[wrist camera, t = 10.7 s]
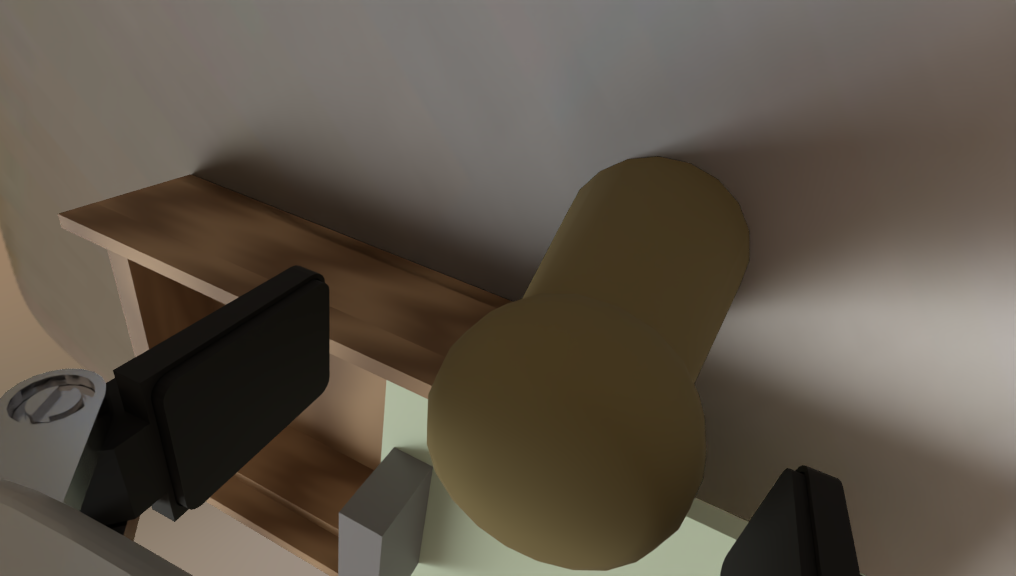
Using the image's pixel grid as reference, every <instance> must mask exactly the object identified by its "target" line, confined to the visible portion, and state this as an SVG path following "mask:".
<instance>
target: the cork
mask: <svg viewBox="0 0 1016 576" xmlns="http://www.w3.org/2000/svg"><path fill="white" fill-rule="evenodd" d="M748 263H749V229H748V226H747V224H746V221H745V219H744V216H743V214H742V211H741V208H740V206H739V203H738V202H737V201H736V200H735V199H734V197H733V196H732V195H731V194H730V193H729V192H728V191H727V189H726V188H725V187H724V186H723V185H722V184H721V183H720V181H719V180H718V179H716V178H714V177H713V176H711V175H709V174H708V173H706V172H704V171H702V170H701V169H699V168H697V167H696V166H694V165H692V164H690V163H687V162H682V161H677V160H673V159H668V158H664V157H659V156H657V157H647V158H637V159H627V160H625V161H623V162H620V163H618V164H616V165H613V166H611V167H609V168H606V169H604V170H602V171H600V172H599V173H598V174H597V175H596V176H594V177H593V178H592V179H591V180H590V181H589V182H588V183H587V184H586V185H584V186H583V187H582V188H581V189H580V190H579V192H578V194H577V196H576V198H575V199H574V201H573V203H572V205H571V207H570V208H569V210H568V212H567V214H566V216H565V218H564V220H563V222H562V224H561V225H560V227H559V229H558V231H557V233H556V235H555V237H554V239H553V241H552V243H551V245H550V247H549V248H548V250H547V252H546V254H545V256H544V258H543V260H542V262H541V264H540V266H539V268H538V270H537V271H536V273H535V275H534V277H533V279H532V281H531V283H530V285H529V287H528V289H527V291H526V293H525V294H524V296H523V298H522V299H520V300H517V301H514V302H511V303H508V304H505V305H503V306H501V307H499V308H497V309H495V310H493V311H490V312H489V313H488V314H487V315H485V316H484V317H483V318H482V319H481V320H479V321H478V322H477V323H476V324H474V325H473V326H472V327H471V328H470V329H468V330H467V331H466V332H465V333H464V334H463V335H462V336H461V337H460V338H459V339H458V340H457V341H456V342H455V343H454V344H453V345H452V346H451V347H450V349H449V351H448V353H447V355H446V357H445V359H444V361H443V363H442V366H441V368H440V370H439V372H438V374H437V376H436V378H435V380H434V383H433V385H432V387H431V389H430V392H429V394H428V413H427V447H428V450H429V453H430V456H431V460H432V463H433V466H434V469H435V473H436V474H437V476H438V477H439V479H440V481H441V482H442V484H443V485H444V487H445V489H446V490H447V492H448V493H449V495H450V497H451V498H452V500H453V501H454V502H455V503H456V504H457V505H458V506H459V507H460V508H461V509H462V510H463V511H464V512H465V513H466V515H467V516H468V517H469V518H470V519H471V520H472V521H473V522H474V523H475V524H476V525H477V526H478V527H479V528H481V529H482V530H484V531H485V532H486V533H488V534H489V535H491V536H492V537H493V538H495V539H496V540H498V541H499V542H500V543H502V544H503V545H505V546H506V547H508V548H510V549H513V550H515V551H517V552H519V553H521V554H523V555H525V556H527V557H530V558H532V559H534V560H536V561H539V562H543V563H547V564H551V565H554V566H558V567H562V568H566V569H570V570H589V571H608V570H611V569H615V568H618V567H621V566H625V565H628V564H632V563H635V562H637V561H639V560H640V559H641V558H643V557H644V556H646V555H647V554H649V553H650V552H652V551H653V550H654V549H656V548H657V547H658V546H659V545H661V544H662V543H663V542H664V541H665V540H667V539H668V538H669V537H670V536H672V535H673V534H674V533H675V532H676V531H678V530H679V528H680V526H681V524H682V523H683V521H684V519H685V517H686V515H687V513H688V512H689V510H690V508H691V505H692V503H693V501H694V498H695V496H696V494H697V492H698V489H699V487H700V485H701V482H702V480H703V478H704V469H705V461H706V435H705V416H704V412H703V408H702V404H701V400H700V396H699V394H698V392H697V389H696V387H695V385H694V383H695V381H696V379H697V377H698V375H699V373H700V370H701V368H702V366H703V364H704V362H705V360H706V358H707V355H708V353H709V351H710V349H711V347H712V345H713V342H714V340H715V338H716V336H717V334H718V332H719V329H720V327H721V325H722V323H723V321H724V319H725V317H726V314H727V312H728V310H729V308H730V306H731V304H732V301H733V299H734V297H735V295H736V293H737V291H738V288H739V286H740V284H741V281H742V278H743V276H744V273H745V271H746V268H747V265H748Z"/></svg>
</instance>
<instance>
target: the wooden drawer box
mask: <svg viewBox="0 0 1016 576" xmlns="http://www.w3.org/2000/svg"><path fill="white" fill-rule="evenodd" d="M58 217H59V220H60V223H61V227H62V228H63V229H65V230H67V231H70V232H72V233H74V234H76V235H78V236H80V237H82V238H85V239H87V240H89V241H91V242H93V243H95V244H97V245H99V246H102V247H104V248H106V249H107V251H108V255H109V258H110V262H111V266H112V270H113V274H114V278H115V282H116V286H117V289H118V293H119V297H120V301H121V305H122V309H123V313H124V316H125V320H126V324H127V328H128V332H129V336H130V340H131V343H132V347H133V351H134V355H135V357H137V356H139V355H140V354H142V353H144V352H145V351H147V350H149V349H151V348H152V347H154V346H156V345H158V344H159V343H161V342H163V341H164V340H166V339H168V338H170V337H171V336H173V335H175V334H176V333H178V332H180V331H182V330H183V329H185V328H187V327H188V326H190V325H192V324H194V323H195V322H197V321H199V320H200V319H202V318H204V317H206V316H207V315H209V314H211V313H213V312H214V311H216V310H218V309H219V308H221V307H223V306H225V305H226V304H228V303H230V302H231V301H233V300H235V299H237V298H238V297H240V296H242V295H243V294H245V293H247V292H249V291H250V290H252V289H254V288H256V287H257V286H259V285H261V284H262V283H264V282H266V281H268V280H269V279H271V278H273V277H274V276H276V275H278V274H280V273H281V272H283V271H285V270H286V269H288V268H290V267H292V266H295V265H299V266H302V267H304V268H307V269H309V270H312V271H314V272H317V273H319V274H321V275H323V277H324V279H325V283H326V284H327V285H328V286H329V303H330V378H329V383H328V385H327V387H326V389H325V391H324V392H323V393H322V394H321V395H320V396H319V397H318V398H317V399H316V400H315V401H314V402H313V403H312V404H311V405H310V406H308V407H307V408H306V409H305V410H304V411H303V412H302V413H301V414H300V415H299V416H298V417H297V418H295V419H294V420H293V421H292V422H291V423H290V424H289V425H288V426H287V427H286V428H285V429H284V430H282V431H281V432H280V433H279V434H278V435H277V436H276V437H275V438H274V439H273V440H272V441H271V442H269V443H268V444H267V445H266V446H265V447H264V448H263V449H262V450H261V451H260V452H259V453H258V454H256V455H255V456H254V457H253V458H252V459H251V460H250V461H249V462H248V463H247V464H246V465H244V466H243V467H242V468H241V469H240V470H239V471H238V472H237V473H236V474H235V475H234V476H233V477H231V478H230V479H229V480H228V481H227V482H226V483H225V484H224V485H223V486H222V487H221V488H220V489H218V490H217V491H216V492H215V493H214V494H213V495H212V496H211V497H210V498H209V499H208V500H207V501H206V502H208V503H210V504H211V505H213V506H214V507H216V508H218V509H219V510H221V511H223V512H224V513H226V514H228V515H229V516H231V517H233V518H234V519H236V520H238V521H239V522H241V523H243V524H244V525H246V526H248V527H249V528H251V529H253V530H254V531H256V532H258V533H259V534H261V535H263V536H264V537H266V538H268V539H269V540H271V541H273V542H275V543H276V544H278V545H279V546H281V547H283V548H284V549H286V550H288V551H289V552H291V553H293V554H294V555H296V556H298V557H299V558H301V559H303V560H304V561H306V562H308V563H309V564H311V565H313V566H314V567H316V568H318V569H320V570H321V571H323V572H324V573H326V574H328V575H329V576H338V544H339V511H340V510H341V509H342V508H343V507H344V505H345V504H346V503H347V502H348V501H349V500H350V498H351V497H352V496H353V495H354V494H355V493H356V491H357V490H358V489H359V488H360V487H361V485H362V484H363V483H364V482H365V481H366V480H367V478H368V477H369V476H370V475H371V474H372V472H373V471H374V470H375V469H376V468H377V467H378V465H379V464H380V463H381V451H382V437H383V423H384V409H385V394H386V380H388V381H390V382H392V383H394V384H396V385H398V386H401V387H403V388H405V389H407V390H409V391H411V392H413V393H416V394H418V395H420V396H422V397H424V398H426V399H428V394H429V392H430V389H431V387H432V385H433V383H434V380H435V378H436V376H437V374H438V372H439V370H440V368H441V366H442V363H443V361H444V359H445V357H446V355H447V353H448V351H449V349H450V347H451V346H452V345H453V344H454V343H455V342H456V341H457V340H458V339H459V338H460V337H461V336H462V335H463V334H464V333H465V332H466V331H467V330H468V329H470V328H471V327H472V326H473V325H474V324H476V323H477V322H478V321H479V320H481V319H482V318H483V317H484V316H485V315H487V314H488V313H489V312H490V311H493V310H495V309H497V308H499V307H501V306H503V305H505V304H508V303H511V302H512V301H510V300H507V299H505V298H502V297H500V296H497V295H495V294H492V293H490V292H487V291H485V290H482V289H480V288H477V287H475V286H472V285H469V284H467V283H464V282H462V281H459V280H457V279H454V278H452V277H449V276H447V275H444V274H442V273H439V272H437V271H434V270H432V269H429V268H426V267H424V266H421V265H419V264H416V263H414V262H411V261H409V260H406V259H404V258H401V257H399V256H396V255H394V254H391V253H388V252H386V251H383V250H381V249H378V248H376V247H373V246H371V245H368V244H366V243H363V242H361V241H358V240H356V239H353V238H351V237H348V236H345V235H343V234H340V233H338V232H335V231H333V230H330V229H328V228H325V227H323V226H320V225H318V224H315V223H313V222H310V221H308V220H305V219H302V218H300V217H297V216H295V215H292V214H290V213H287V212H285V211H282V210H280V209H277V208H275V207H272V206H270V205H267V204H265V203H262V202H259V201H257V200H254V199H252V198H249V197H247V196H244V195H242V194H239V193H237V192H234V191H232V190H229V189H227V188H224V187H221V186H219V185H216V184H214V183H211V182H209V181H206V180H204V179H201V178H199V177H196V176H194V175H191V174H190V175H187V176H184V177H180V178H177V179H174V180H170V181H167V182H163V183H160V184H157V185H153V186H150V187H147V188H143V189H140V190H137V191H133V192H130V193H126V194H123V195H120V196H116V197H113V198H110V199H106V200H103V201H99V202H96V203H93V204H89V205H86V206H83V207H79V208H76V209H73V210H69V211H66V212H62V213H59V214H58Z"/></svg>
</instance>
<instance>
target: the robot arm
mask: <svg viewBox="0 0 1016 576" xmlns="http://www.w3.org/2000/svg"><path fill="white" fill-rule="evenodd" d="M113 372H114V375H115V378H114V379H112V380H111V381H109V382H107V383H105V381H104V380H103V378H102V377H101V376H99V375H98V374H96V373H95V372H92V371H88V370H84V369H62V370H55V371H49V372H46V373H43V374H39V375H36V376H33V377H31V378H29V379H27V380H24V381H23V382H20V383H18V384H17V385H15V386H14V387H12V388H11V389H10V390H8V391H7V392H6V393H5V394H4V395H3V396H2V397H1V398H0V576H192V575H191V574H189V573H187V572H185V571H184V570H182V569H180V568H179V567H177V566H175V565H173V564H172V563H170V562H168V561H167V560H165V559H163V558H161V557H160V556H158V555H156V554H154V553H153V552H151V551H149V550H148V549H146V548H144V547H143V546H141V545H139V544H137V543H136V542H134V537H135V532H136V529H137V524H138V521H139V517H140V515H141V514H142V513H143V512H144V511H146V510H147V509H148V508H149V507H150V506H152V509H153V510H155V511H157V512H158V513H160V514H162V515H164V516H165V517H167V518H169V519H171V520H172V521H174V522H175V521H176V520H177V519H178V518H179V517H180V516H182V515H183V514H184V513H185V512H186V511H187V510H188V509H191V510H192V509H196V508H198V507H199V506H201V505H202V504H203V503H204V502H205V501H207V500H208V499H209V498H210V497H211V496H212V495H213V494H214V493H215V492H216V491H217V490H218V489H220V488H221V487H222V486H223V485H224V484H225V483H226V482H227V481H228V480H229V479H230V478H231V477H233V476H234V475H235V474H236V473H237V472H238V471H239V470H240V469H241V468H242V467H243V466H244V465H246V464H247V463H248V462H249V461H250V460H251V459H252V458H253V457H254V456H255V455H256V454H258V453H259V452H260V451H261V450H262V449H263V448H264V447H265V446H266V445H267V444H268V443H269V442H271V441H272V440H273V439H274V438H275V437H276V436H277V435H278V434H279V433H280V432H281V431H282V430H284V429H285V428H286V427H287V426H288V425H289V424H290V423H291V422H292V421H293V420H294V419H295V418H297V417H298V416H299V415H300V414H301V413H302V412H303V411H304V410H305V409H306V408H307V407H308V406H310V405H311V404H312V403H313V402H314V401H315V400H316V399H317V398H318V397H319V396H320V395H321V394H322V393H323V392H324V391H325V389H326V387H327V385H328V383H329V378H330V303H329V286H328V285H327V284H326V283H325V279H324V277H323V275H321V274H319V273H317V272H314V271H312V270H309V269H307V268H304V267H302V266H299V265H295V266H292V267H290V268H288V269H286V270H285V271H283V272H281V273H280V274H278V275H276V276H274V277H273V278H271V279H269V280H268V281H266V282H264V283H262V284H261V285H259V286H257V287H256V288H254V289H252V290H250V291H249V292H247V293H245V294H243V295H242V296H240V297H238V298H237V299H235V300H233V301H231V302H230V303H228V304H226V305H225V306H223V307H221V308H219V309H218V310H216V311H214V312H213V313H211V314H209V315H207V316H206V317H204V318H202V319H200V320H199V321H197V322H195V323H194V324H192V325H190V326H188V327H187V328H185V329H183V330H182V331H180V332H178V333H176V334H175V335H173V336H171V337H170V338H168V339H166V340H164V341H163V342H161V343H159V344H158V345H156V346H154V347H152V348H151V349H149V350H147V351H145V352H144V353H142V354H140V355H139V356H137V357H135V358H133V359H132V360H130V361H128V362H127V363H125V364H123V365H121V366H120V367H118V368H116V369H115V370H113ZM720 576H863V575H860V571H859V566H858V561H857V556H856V551H855V546H854V541H853V536H852V531H851V525H850V520H849V515H848V510H847V505H846V500H845V495H844V490H843V486H842V483H841V481H840V480H839V479H838V478H835V477H833V476H830V475H827V474H825V473H822V472H820V471H817V470H815V469H812V468H810V467H807V466H803V465H802V466H800V467H799V468H798V469H797V470H796V471H794V470H792V469H788V468H787V469H786V470H784V472H783V473H782V474H781V476H780V477H779V479H778V480H777V482H776V483H775V485H774V486H773V487H772V489H771V490H770V492H769V493H768V495H767V496H766V498H765V499H764V501H763V502H762V504H761V505H760V507H759V508H758V509H757V511H756V512H755V514H754V515H753V517H752V518H751V520H750V521H749V523H748V524H747V526H746V527H745V529H744V530H743V531H742V533H741V534H740V536H739V537H738V539H737V540H736V542H735V543H734V545H733V546H732V548H731V549H730V551H729V552H728V553H727V555H726V557H725V559H724V561H723V564H722V568H721V572H720Z"/></svg>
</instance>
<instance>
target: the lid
mask: <svg viewBox="0 0 1016 576" xmlns="http://www.w3.org/2000/svg"><path fill="white" fill-rule="evenodd" d="M427 413H428V399H426V398H424V397H422V396H420V395H418V394H416V393H413V392H411V391H409V390H407V389H405V388H403V387H401V386H398V385H396V384H394V383H392V382H390V381H388V380H386V394H385V409H384V423H383V437H382V451H381V463H380V464H379V465H378V467H377V468H376V469H375V470H374V471H373V472H372V474H371V475H370V476H369V477H368V478H367V480H366V481H365V482H364V483H363V484H362V485H361V487H360V488H359V489H358V490H357V491H356V493H355V494H354V495H353V496H352V497H351V498H350V500H349V501H348V502H347V503H346V504H345V505H344V507H343V508H342V509H341V510H340V511H339V544H338V576H720V572H721V568H722V564H723V561H724V559H725V557H726V555H727V553H728V552H729V551H730V549H731V548H732V546H733V545H734V543H735V542H736V540H737V539H738V537H739V536H740V534H741V533H742V531H743V530H744V529H745V527H746V526H747V524H748V523H749V522H748V521H746V520H744V519H741V518H739V517H737V516H735V515H733V514H730V513H728V512H726V511H724V510H722V509H719V508H717V507H715V506H713V505H711V504H708V503H706V502H704V501H702V500H700V499H697V498H694V501H693V503H692V505H691V508H690V510H689V512H688V513H687V515H686V517H685V519H684V521H683V523H682V524H681V526H680V528H679V530H678V531H676V532H675V533H674V534H673V535H672V536H670V537H669V538H668V539H667V540H665V541H664V542H663V543H662V544H661V545H659V546H658V547H657V548H656V549H654V550H653V551H652V552H650V553H649V554H647V555H646V556H644V557H643V558H641V559H640V560H639V561H637V562H635V563H632V564H628V565H625V566H621V567H618V568H615V569H611V570H608V571H589V570H570V569H566V568H562V567H558V566H554V565H551V564H547V563H543V562H539V561H536V560H534V559H532V558H530V557H527V556H525V555H523V554H521V553H519V552H517V551H515V550H513V549H510V548H508V547H506V546H505V545H503V544H502V543H500V542H499V541H498V540H496V539H495V538H493V537H492V536H491V535H489V534H488V533H486V532H485V531H484V530H482V529H481V528H479V527H478V526H477V525H476V524H475V523H474V522H473V521H472V520H471V519H470V518H469V517H468V516H467V515H466V513H465V512H464V511H463V510H462V509H461V508H460V507H459V506H458V505H457V504H456V503H455V502H454V501H453V500H452V498H451V497H450V495H449V493H448V492H447V490H446V489H445V487H444V485H443V484H442V482H441V481H440V479H439V477H438V476H437V474H436V473H435V469H434V466H433V463H432V460H431V456H430V453H429V450H428V447H427ZM860 575H863V576H867V575H864V574H862V573H860Z"/></svg>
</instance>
